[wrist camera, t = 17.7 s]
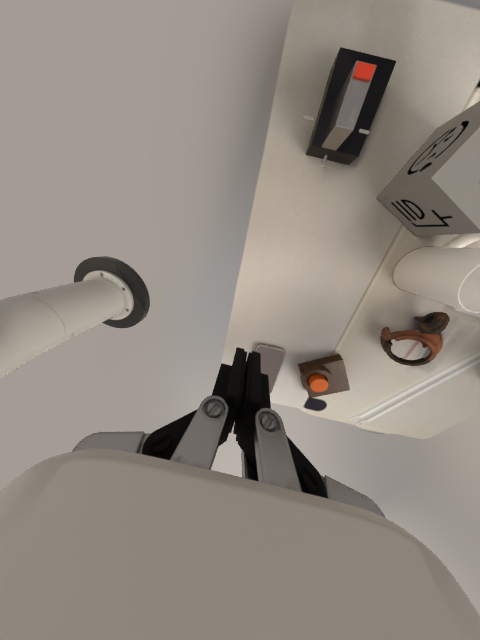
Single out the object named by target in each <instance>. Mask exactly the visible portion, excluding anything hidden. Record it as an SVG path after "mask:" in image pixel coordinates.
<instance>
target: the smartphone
mask: <svg viewBox="0 0 480 640" xmlns="http://www.w3.org/2000/svg"><path fill="white" fill-rule="evenodd" d="M255 352H258V353H260V354H261V373H263V374H267V375H268V378H269V392H270V393H271V392H272V390H273V387H274V385H275V382H276V379H277V376H278V374H279V371H280V368H281V366H282V363H283V360H284V357H285V355H286V353H285V350H284V349H282V348H277V347H273V346H268V345H263V344H259V345H257V347H256V351H255Z"/></svg>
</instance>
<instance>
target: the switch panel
mask: <svg viewBox="0 0 480 640" xmlns="http://www.w3.org/2000/svg"><path fill="white" fill-rule="evenodd" d="M356 61H361V62H365V63H370V64H374V65H377V66H376V69H375V72H374V75H373V77H372V80H371V83H370V86H369V88H368V91H367V94H366V97H365V99H364V102H363V105H362V108H361V110H360V113H359V116H358V119H357V121H356V124H355V127H354V130H353V131H352V132H351V133H350V135H349V136H348V137H347V138H346V139H345V140H344V142H343V143H342V144H341V145H340V146H339V148H338V149H337V150H336V151H335V150H331V149H327V148H323V147H321V146H322V143H323V139H324V136H325V133H326V130H327V127H328V123H329V120H330V117H331V114H332V111H333V107H334V104H335V101H336V98H337V96H338V94H339V92H340V90H341V88H342V86H343V85H344V83H345V81H346V79H347V77H348V75H349V74H350V72H351V70H352V68H353V66H354V64H355V62H356ZM395 63H396V61H394V60H390V59H386V58H382V57H378V56H374V55H370V54H366V53H362V52H357V51H353V50H349V49H345V48H340V50H339V52H338V54H337V57H336V59H335V62H334V64H333V66H332V69H331V71H330V75H329V78H328V82H327V85H326V88H325V92H324V95H323V99H322V102H321V105H320V109H319V112H318V116H317V119H316V122H315V126H314V129H313V133H312V136H311V139H310V143H309V146H308V150H307V153H306V155H310V156H314V157H318V158H322V159H323V162H322V165H321V168H324V165H325V162H326V160H330V161H334V162H338V163H342V164H347V165H349V164H350V163H351V162H353V161H354V160H355V159H356V158H357V157H358V156H359V154H360V151H361V149H362V146H363V144H364V141H365V139H366V136H367V135H369V132H370V131H369V129H370V126H371V124H372V121H373V119H374V116H375V114H376V111H377V109H378V106H379V104H380V101H381V99H382V96H383V94H384V91H385V89H386V86H387V84H388V81H389V79H390V76H391V73H392V71H393V68H394V66H395ZM303 119H305V120H309V121H313V120H314V117H311V116H307V115H304V118H303Z"/></svg>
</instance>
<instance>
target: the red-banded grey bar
mask: <svg viewBox="0 0 480 640" xmlns="http://www.w3.org/2000/svg"><path fill="white" fill-rule="evenodd" d="M376 66H377V65H374V64H370V63H365V62H361V61H356V62H355V64H354V66H353V68H352V70H351V72H350V74H349V75H348V77H347V79H346V81H345V83H344V85H343V86H342V88H341V90H340V92H339V94H338V96H337V98H336V101H335V104H334V107H333V111H332V114H331V117H330V120H329V123H328V127H327V130H326V133H325V136H324V139H323V143H322V146H321V147H323V148H327V149H331V150H335V151H336V150H337V149H338V148H339V146H340V145H341V144H342V143H343V142H344V140H345V139H346V138H347V137H348V136H349V135H350V133H351V132H352V131H353V130H354V127H355V124H356V121H357V119H358V116H359V113H360V110H361V108H362V105H363V102H364V99H365V97H366V94H367V91H368V88H369V86H370V83H371V80H372V77H373V75H374V72H375V69H376Z"/></svg>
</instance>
